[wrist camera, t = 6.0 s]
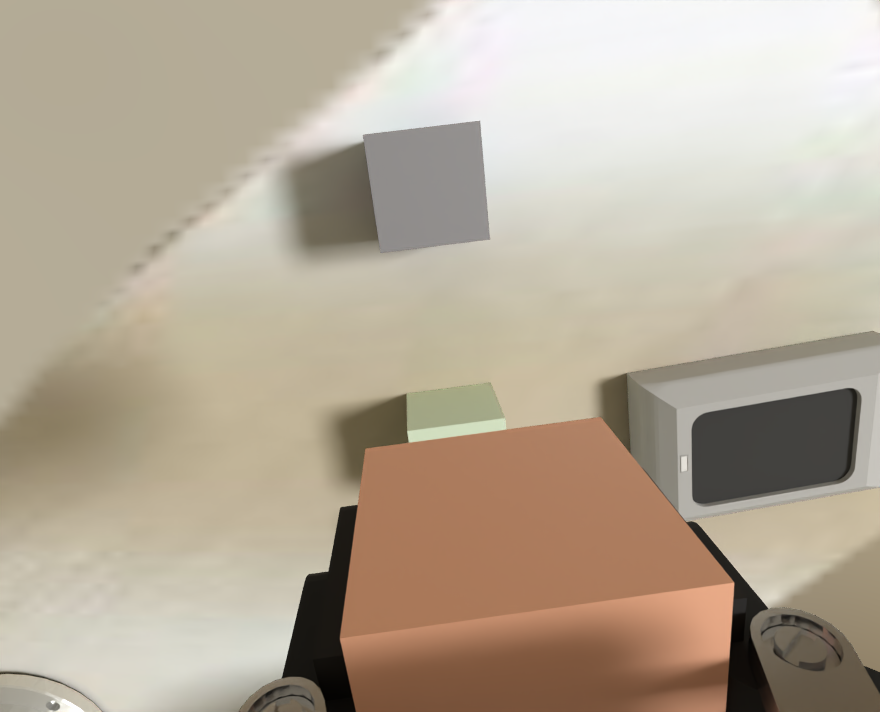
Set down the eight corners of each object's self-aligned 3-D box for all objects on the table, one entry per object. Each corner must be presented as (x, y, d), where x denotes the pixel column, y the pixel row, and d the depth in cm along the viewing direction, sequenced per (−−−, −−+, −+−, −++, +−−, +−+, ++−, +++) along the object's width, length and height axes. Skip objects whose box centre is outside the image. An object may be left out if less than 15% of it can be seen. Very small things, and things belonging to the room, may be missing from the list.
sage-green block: (497, 456, 35) (512, 502, 30) (417, 467, 34) (419, 515, 30) (490, 382, 33) (505, 417, 28) (406, 393, 33) (407, 431, 28)
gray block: (476, 227, 30) (489, 239, 25) (384, 239, 30) (380, 253, 25) (467, 128, 28) (480, 120, 24) (369, 140, 28) (362, 134, 23)
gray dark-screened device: (900, 497, 33) (655, 540, 33) (853, 466, 37) (631, 504, 37) (920, 347, 30) (649, 394, 30) (867, 329, 34) (624, 370, 34)
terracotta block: (605, 605, 13) (716, 844, 9) (398, 634, 13) (396, 893, 8) (600, 417, 12) (734, 582, 7) (365, 448, 12) (340, 638, 7)
